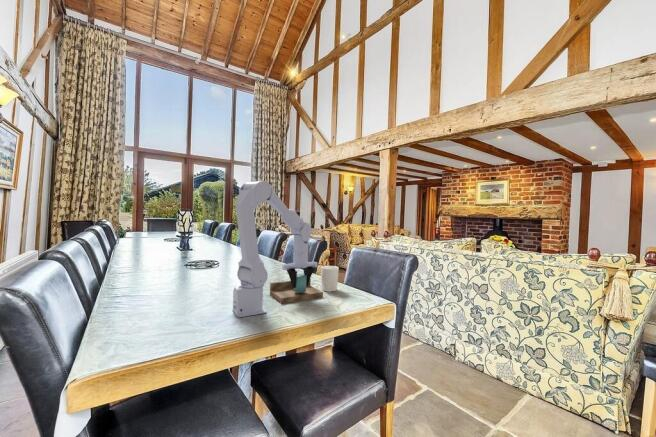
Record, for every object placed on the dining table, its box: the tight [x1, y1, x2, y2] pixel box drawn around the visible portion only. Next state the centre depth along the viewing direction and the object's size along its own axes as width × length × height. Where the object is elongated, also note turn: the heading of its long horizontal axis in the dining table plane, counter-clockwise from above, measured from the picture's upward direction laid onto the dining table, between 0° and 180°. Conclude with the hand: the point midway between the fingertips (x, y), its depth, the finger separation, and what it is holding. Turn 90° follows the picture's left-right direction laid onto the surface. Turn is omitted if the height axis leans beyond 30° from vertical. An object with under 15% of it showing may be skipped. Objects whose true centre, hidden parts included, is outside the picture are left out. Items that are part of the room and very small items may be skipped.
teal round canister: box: [294, 273, 307, 293], centre depth 112 cm, size 5×5×6 cm
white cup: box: [320, 265, 340, 293], centre depth 125 cm, size 8×8×10 cm
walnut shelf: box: [269, 278, 324, 304], centre depth 115 cm, size 18×12×5 cm, turn 122°
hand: (299, 286), depth 112 cm, fingers closed on teal round canister, 5 cm apart
